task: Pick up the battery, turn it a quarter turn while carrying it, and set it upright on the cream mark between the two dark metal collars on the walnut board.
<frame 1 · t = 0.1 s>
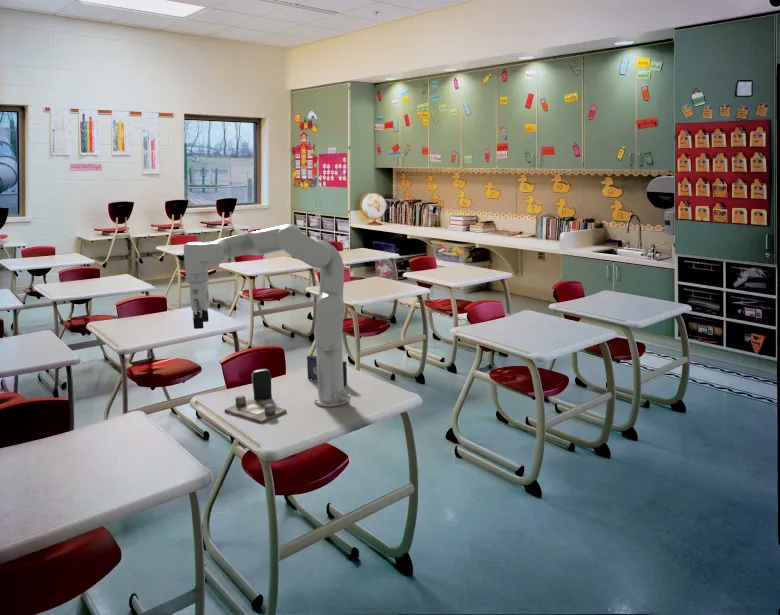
hand: (201, 324, 228), 31 cm above the table, tool pointing down, fingers open, 9 cm apart
collar board: (255, 412, 229), on the table
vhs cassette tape: (327, 382, 259), on the table
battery: (262, 398, 242), on the table
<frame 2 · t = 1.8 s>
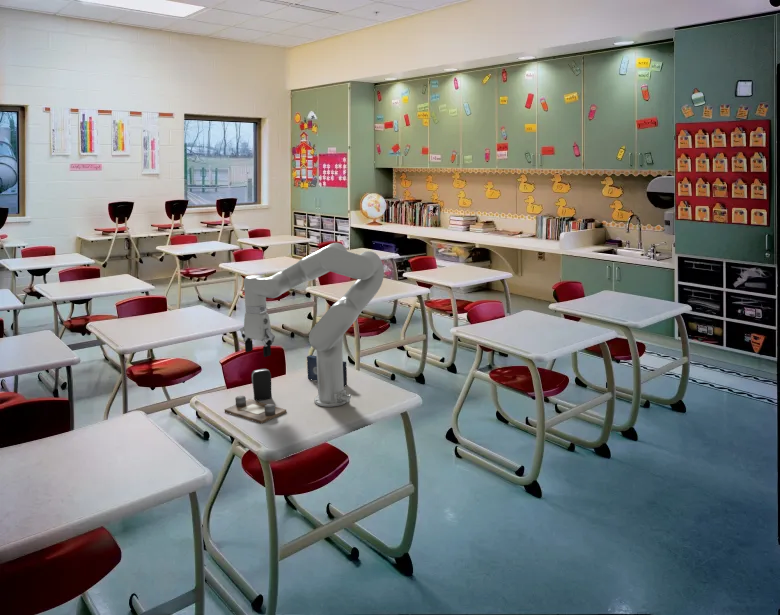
hand: (258, 353, 239), 18 cm above the table, tool pointing down, fingers open, 9 cm apart
nothing on the table moved.
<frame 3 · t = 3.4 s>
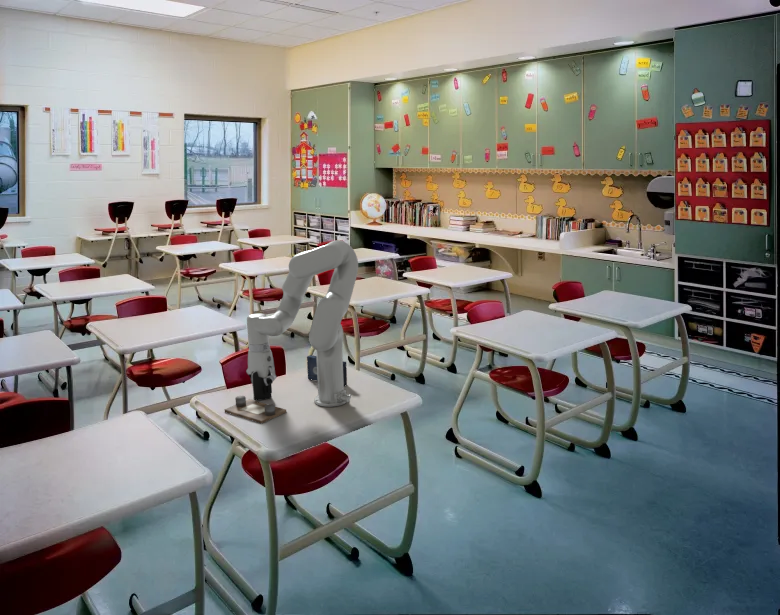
hand: (262, 392, 242), 2 cm above the table, tool pointing down, fingers closed on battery, 5 cm apart
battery: (262, 398, 243), on the table, touching gripper
everything else where it was.
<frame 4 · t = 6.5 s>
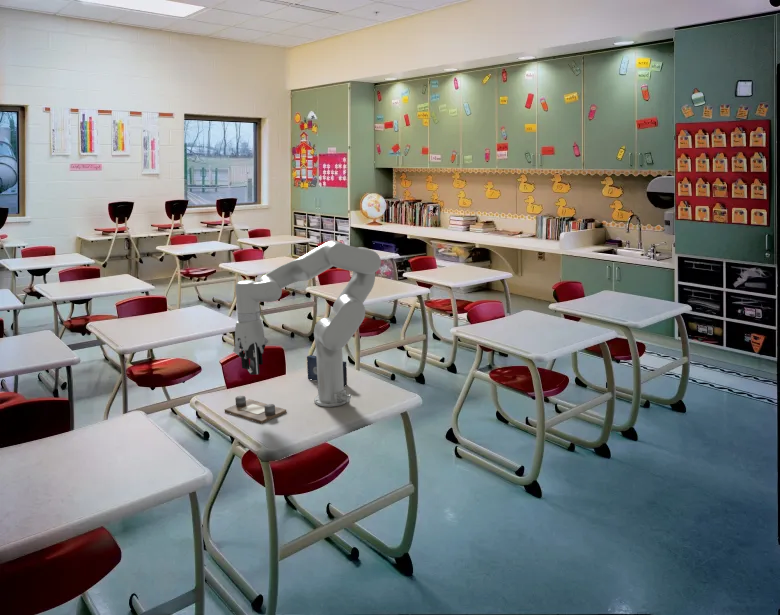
hand: (252, 365, 225), 17 cm above the table, tool pointing down, fingers closed on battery, 5 cm apart
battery: (252, 373, 226), point 15 cm above the table, touching gripper
everything else where it was.
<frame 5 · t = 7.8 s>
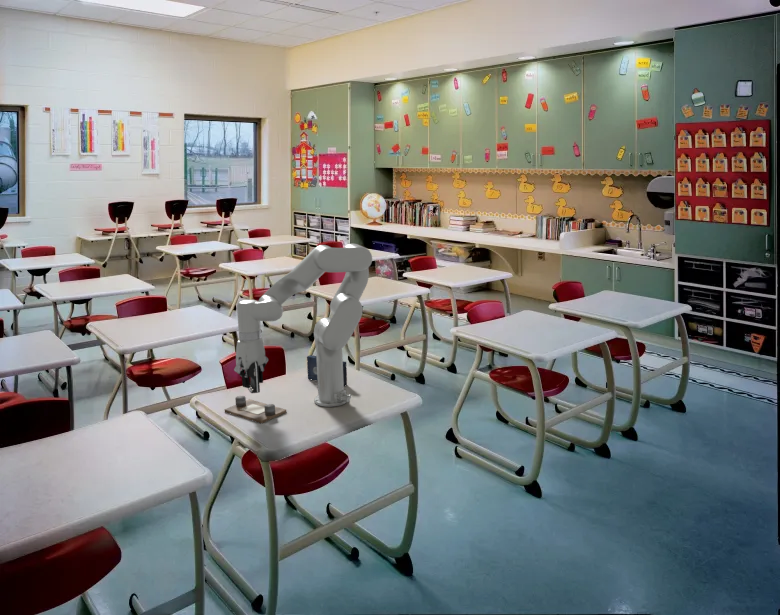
hand: (252, 384, 227), 11 cm above the table, tool pointing down, fingers closed on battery, 5 cm apart
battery: (252, 391, 227), point 8 cm above the table, touching gripper
everything else where it was.
when the fingers open (5 cm above the table, at t = 9.2 s): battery drops 2 cm, resting on collar board.
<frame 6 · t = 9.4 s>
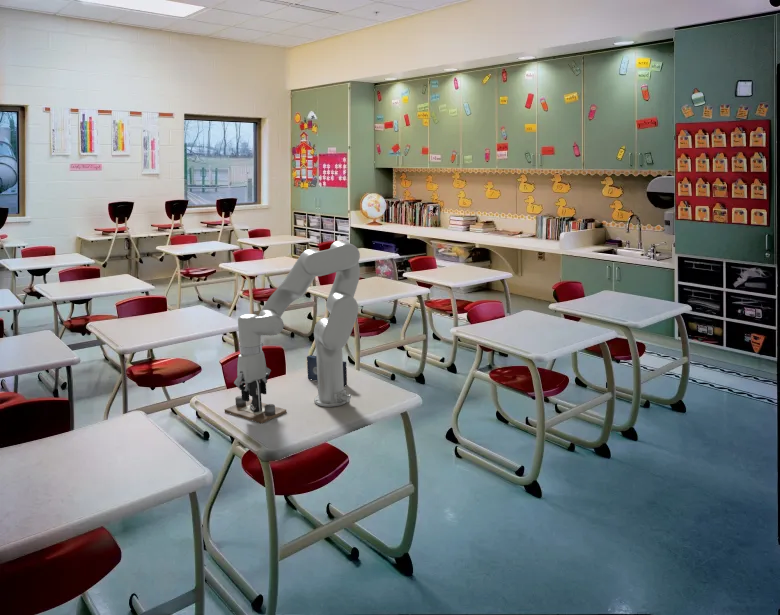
hand: (254, 396, 228), 6 cm above the table, tool pointing down, fingers open, 7 cm apart
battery: (254, 410, 228), point 1 cm above the table, touching collar board
everything else where it was.
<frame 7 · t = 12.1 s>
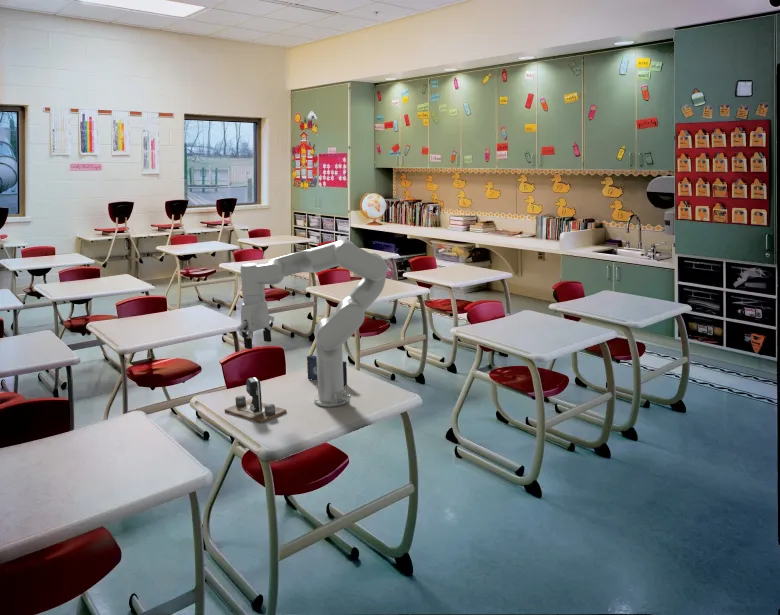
hand: (258, 344, 230), 23 cm above the table, tool pointing down, fingers open, 9 cm apart
nothing on the table moved.
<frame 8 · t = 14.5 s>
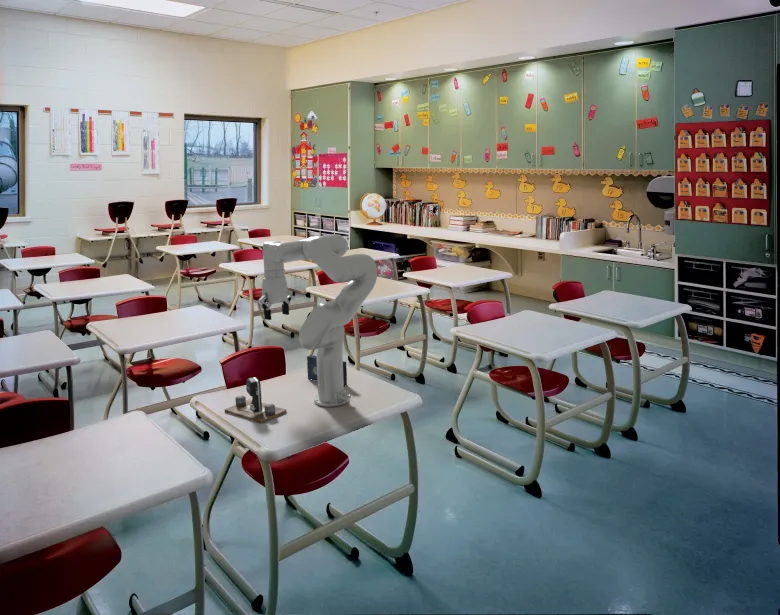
hand: (277, 316, 249), 28 cm above the table, tool pointing down, fingers open, 9 cm apart
nothing on the table moved.
at the end: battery 0.5 cm off-centre on the collar board, point 1.0 cm above the collar board's base; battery tilted 0°; the gripper is holding nothing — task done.
